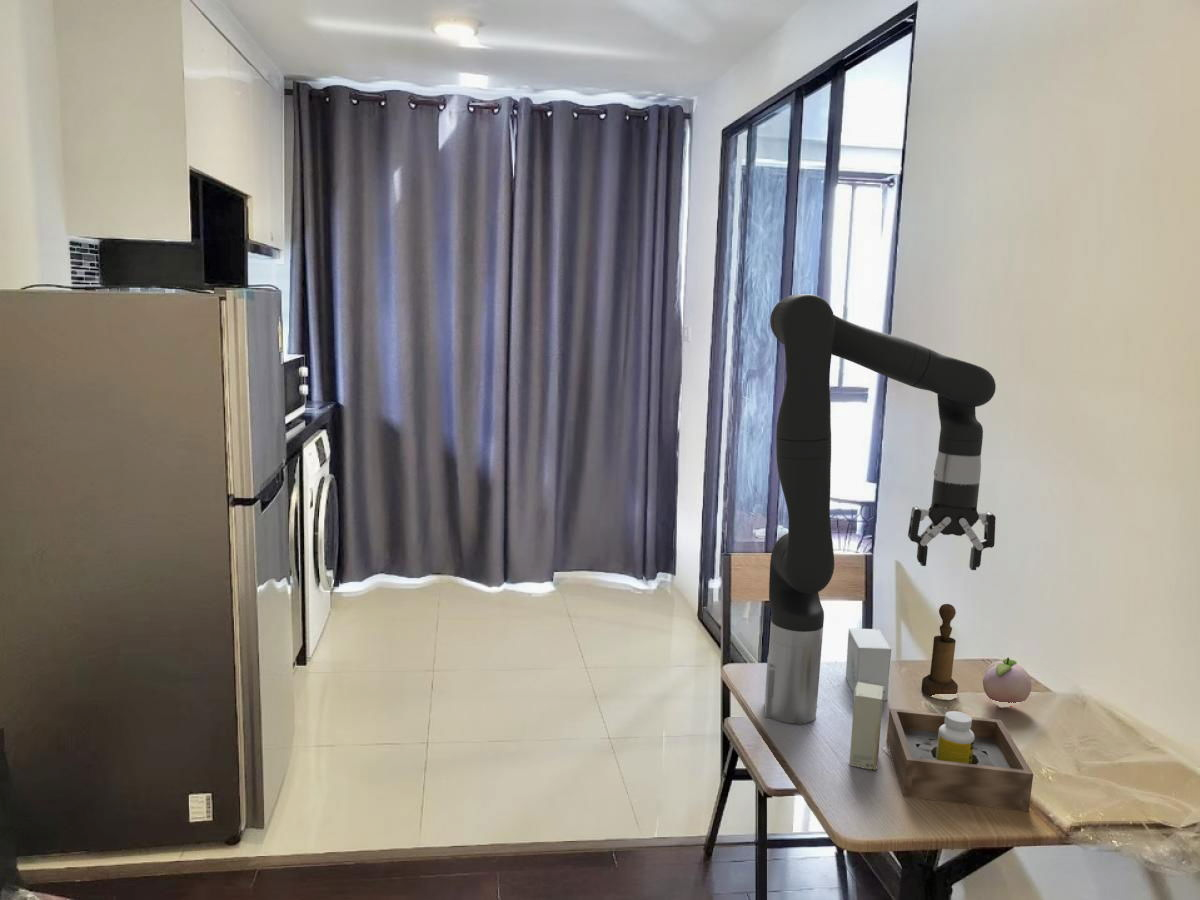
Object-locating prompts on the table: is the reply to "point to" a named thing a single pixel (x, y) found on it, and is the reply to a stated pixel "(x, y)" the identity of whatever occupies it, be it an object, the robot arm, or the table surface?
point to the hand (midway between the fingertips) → (947, 567)
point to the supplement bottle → (955, 738)
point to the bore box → (984, 782)
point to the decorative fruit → (1007, 682)
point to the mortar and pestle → (942, 658)
